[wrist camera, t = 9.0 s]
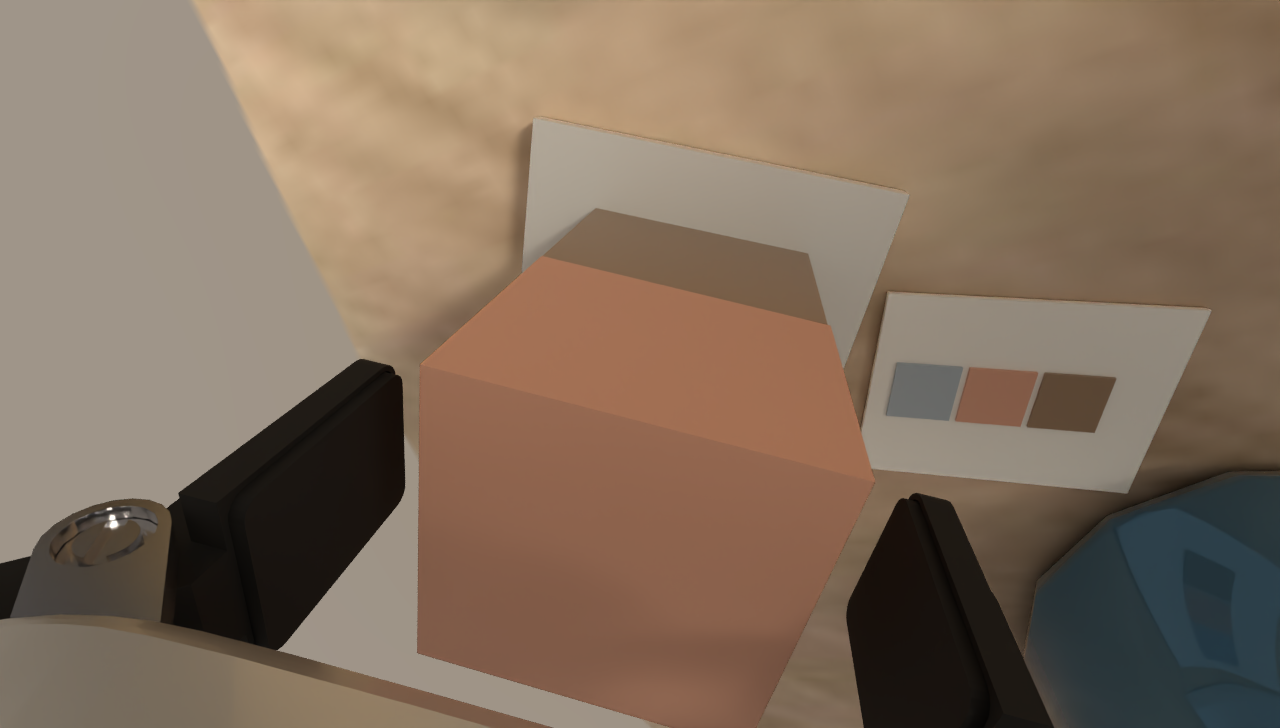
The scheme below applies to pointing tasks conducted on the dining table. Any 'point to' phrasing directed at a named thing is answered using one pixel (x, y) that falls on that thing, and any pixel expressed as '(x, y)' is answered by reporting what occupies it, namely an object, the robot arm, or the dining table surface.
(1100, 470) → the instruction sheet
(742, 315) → the terracotta brick
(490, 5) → the dining table surface
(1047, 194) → the dining table surface
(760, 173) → the tower base
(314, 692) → the robot arm
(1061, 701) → the wine bottle
